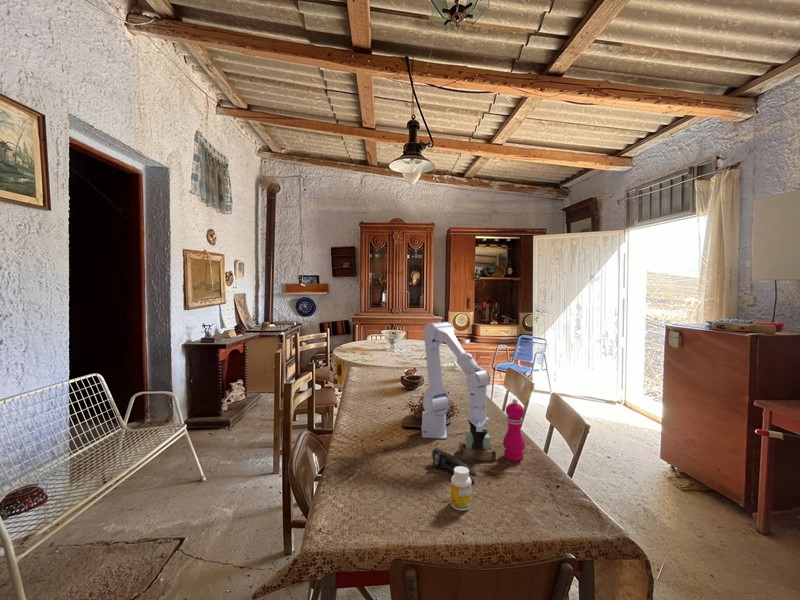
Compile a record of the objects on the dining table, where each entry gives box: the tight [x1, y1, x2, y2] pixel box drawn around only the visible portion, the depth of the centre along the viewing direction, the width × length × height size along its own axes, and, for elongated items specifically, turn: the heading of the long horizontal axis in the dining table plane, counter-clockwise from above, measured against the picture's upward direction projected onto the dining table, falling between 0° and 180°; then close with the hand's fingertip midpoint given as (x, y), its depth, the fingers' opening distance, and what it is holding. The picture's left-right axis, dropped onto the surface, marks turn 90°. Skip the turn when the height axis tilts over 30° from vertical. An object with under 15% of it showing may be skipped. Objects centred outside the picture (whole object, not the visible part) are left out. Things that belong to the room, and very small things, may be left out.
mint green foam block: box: [464, 432, 491, 450], centre depth 129 cm, size 8×3×7 cm, turn 84°
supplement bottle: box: [450, 466, 472, 512], centre depth 100 cm, size 5×5×10 cm
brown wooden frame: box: [458, 441, 497, 462], centre depth 129 cm, size 12×6×3 cm, turn 84°
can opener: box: [431, 447, 477, 485], centre depth 117 cm, size 18×7×6 cm, turn 36°
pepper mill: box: [502, 398, 526, 462], centre depth 128 cm, size 7×7×20 cm
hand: (476, 444), depth 129 cm, fingers open, 7 cm apart
